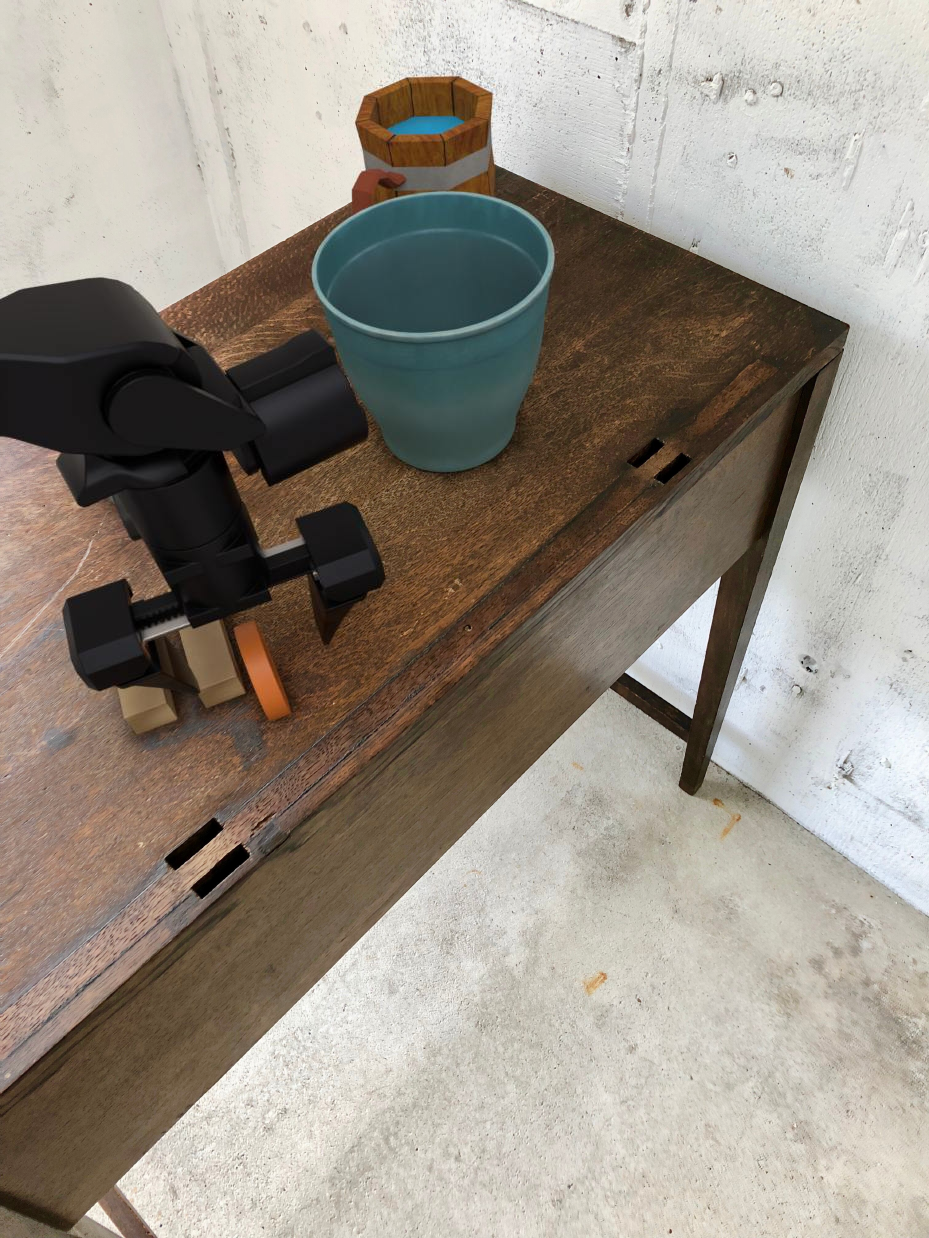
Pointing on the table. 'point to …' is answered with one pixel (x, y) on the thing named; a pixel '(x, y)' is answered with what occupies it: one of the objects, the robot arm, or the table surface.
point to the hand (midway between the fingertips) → (261, 663)
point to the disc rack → (210, 668)
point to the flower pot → (438, 319)
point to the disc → (262, 670)
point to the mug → (424, 140)
